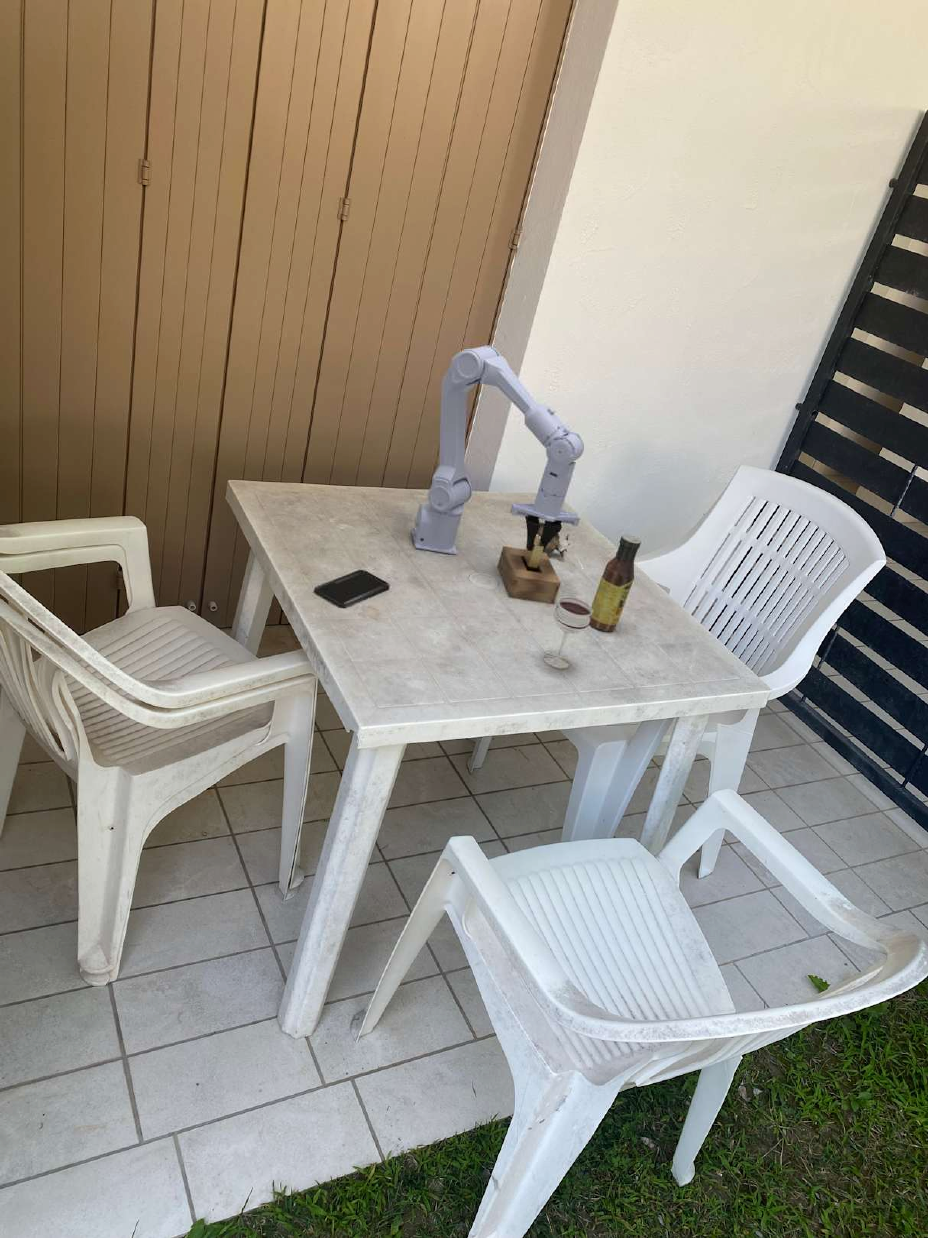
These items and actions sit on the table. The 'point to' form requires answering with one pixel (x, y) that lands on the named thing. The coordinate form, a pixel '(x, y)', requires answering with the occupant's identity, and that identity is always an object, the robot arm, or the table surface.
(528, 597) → the box
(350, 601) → the phone
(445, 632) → the table surface
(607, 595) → the sauce bottle
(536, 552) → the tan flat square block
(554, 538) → the eagle figurine
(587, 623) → the wineglass
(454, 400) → the robot arm
